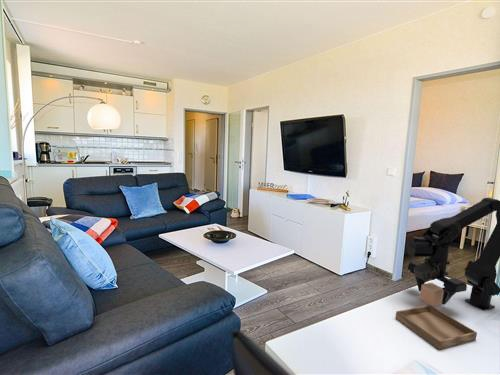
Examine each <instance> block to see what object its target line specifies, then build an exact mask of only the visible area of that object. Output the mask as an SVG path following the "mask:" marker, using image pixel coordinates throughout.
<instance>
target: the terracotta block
mask: <svg viewBox="0 0 500 375" xmlns="http://www.w3.org/2000/svg"><path fill="white" fill-rule="evenodd" d="M442 288H443V287H441V286H438V285H437V284H435V283H434V282H427V283H426V282H425V283H424V284H422V287H421V292H420V293H419V294H420V295H419V300H420V301H421V302H424V303H425V304H427V305H431V306H433V307H437V306H443V304H442V299H443V294H444V291H443V289H442Z"/></svg>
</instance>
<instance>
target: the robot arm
mask: <svg viewBox="0 0 500 375" xmlns="http://www.w3.org/2000/svg"><path fill="white" fill-rule="evenodd" d="M492 213H495V218H496V219H495V220H496V224H495V226H494V228H493V230H492V232H491V234H490V236H489V238H488V240H487V241H486V244H485V246H484V248H483V249H482V251H481V253H480V255H479V257H478V259H476V260H474V261H472V260H469V261H468V262H467V265H466V267H465V268H464V277H465V278H466V280H467V283H466V282H465V281H463V280H460V279H458V278H457V277H451V278H448V277H446V276H448V275H449V272H448V271H446V270H447V266H448V265H450V263H451V261H449V260H448V259H449V254H450V248H451V247H453V248H456V247H457V244H456V243H454V241H453V240H454V239H455V238H457V237H459V235H461V232H462V231H463V229H464V228H466V227H468V226H470V225H472V224H474V223H475V222H477V221H479V220H481V219H483V218H485V217H486V216H488V215H491V214H492ZM405 247H406V248H405V249H406V252H407V254H408V256H411V257H421V258H422V257H423V258H424V262H421V261H417V260H416V261H410V262H409V263H407V268H406V269H407V270H409V272H410V274H412V275H413V276H414V278H415V280H416V284H417V289H418V292H420V293H421V287H422V284H426V282H428V281H429V280H432V281H435V280H438V281H440V282H442V283H443V285H442V286H443V287H441V288H442V289H443V291H444V294H443V299H442V306H445V305H447V303H448V302H449V301H450V300H451V298H452V297H454V296H455V294H456V293H461V292H467V288H468V286H467V284H469V285H471V286H472V287H471V292H470V296H469V298H465V300H464V301H465V302H467V303H469V304H470V305H472V306H474V307H476V308H478V309H480V310H482V311H487V310H492V309H495V308H496V306H495V305H493V304H492V303H491V302H492V297H493V296H494V297H495V296H499V295H500V286H499V285H498V284H497V283H496V279H497V276H498V274H497V267H496V266H497V264H498V262H499V261H500V260H499V259H500V200H499V199H496V198H492V197H484V198H482V199H481V200H480V201H479V202H476V203H475V204H473V205H472V206H470V207H467V208H466V209H465V210H462V211H460V212H459V213H456V214H455V215H453V216H450V217H444V218H440V219H437V220H434V221H433V222H432V223H430V226H429V227H428V228H427V229H426V230H425V231H424V232H423V233H422V234H421V237H417V236H411V237H410V240H408V241H407V243H406V246H405Z"/></svg>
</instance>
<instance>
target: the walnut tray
mask: <svg viewBox="0 0 500 375" xmlns="http://www.w3.org/2000/svg"><path fill="white" fill-rule="evenodd" d="M395 320H397V321H398V322H400V323H401V324H402V325H404V326H405V327H406V328H408V329H409V330H410V331H412V332H413V333H414V334H416V335H417V336H418V337H420V338H421V339H422V340H424V341H426V343H428V344H430V345H431V346H432V347H434V349H436V350H438V351H442V350H446V349H449V348H453V347H456V346H461V345H463V344H467V343H471V342H475V341H476V340H477V335H478V332H477V331H475V330H473V329H472V328H470V327H468V326H467V325H465V324H464V323H461V321H459V320H456V319H455V318H453V317H452V316H450V315H449V314H446V313H445V312H443V311H442V310H440V309H438V308H436V306H431V305H428V304H427V305H422V306H418V307H417V306H415V307H412V308H406V309H401V310H397V311H396V312H395Z"/></svg>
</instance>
